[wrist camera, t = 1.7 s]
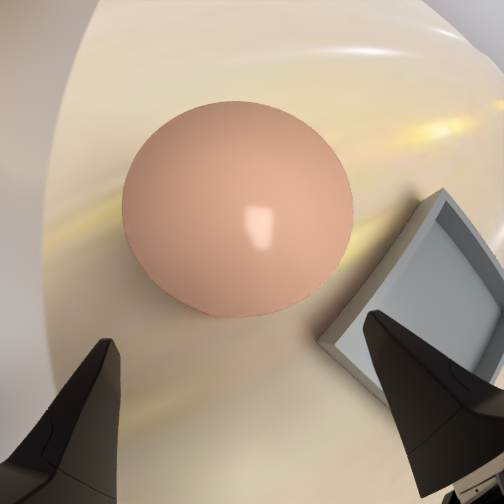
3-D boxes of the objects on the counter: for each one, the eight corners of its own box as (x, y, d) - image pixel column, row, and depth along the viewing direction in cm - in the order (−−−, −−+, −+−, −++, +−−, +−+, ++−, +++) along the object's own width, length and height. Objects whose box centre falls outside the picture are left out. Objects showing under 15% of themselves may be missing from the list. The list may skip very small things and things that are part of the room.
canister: (285, 273, 21) (390, 201, 8) (226, 335, 20) (243, 370, 6) (225, 216, 22) (240, 74, 8) (165, 274, 20) (80, 196, 7)
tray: (502, 311, 23) (525, 308, 20) (427, 442, 19) (450, 453, 16) (420, 201, 24) (443, 187, 21) (316, 341, 21) (334, 345, 17)
